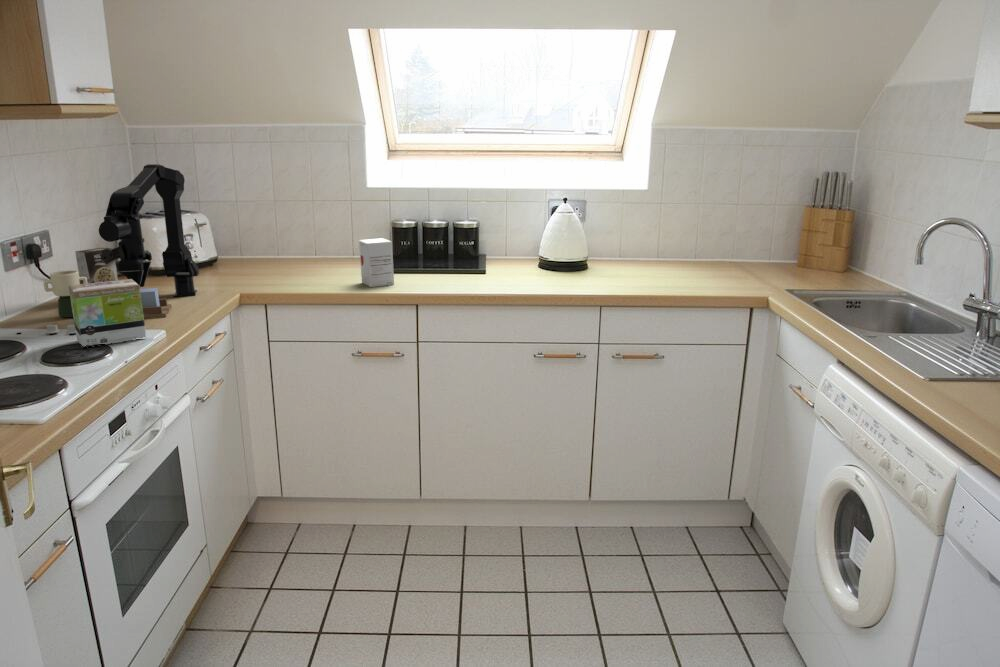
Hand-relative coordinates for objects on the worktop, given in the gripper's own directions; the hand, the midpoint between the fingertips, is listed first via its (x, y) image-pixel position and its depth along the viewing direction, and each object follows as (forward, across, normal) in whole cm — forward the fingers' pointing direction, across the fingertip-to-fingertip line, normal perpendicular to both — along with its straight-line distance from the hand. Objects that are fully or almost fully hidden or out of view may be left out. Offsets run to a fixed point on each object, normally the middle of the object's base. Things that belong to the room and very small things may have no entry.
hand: (139, 289), depth 216 cm
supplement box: (+7, -20, +71) cm, 74 cm away
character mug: (+8, -4, -20) cm, 21 cm away
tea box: (+8, +27, -3) cm, 28 cm away
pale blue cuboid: (+6, 0, 0) cm, 6 cm away
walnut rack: (+7, 0, 0) cm, 7 cm away
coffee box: (+8, -25, -16) cm, 31 cm away
